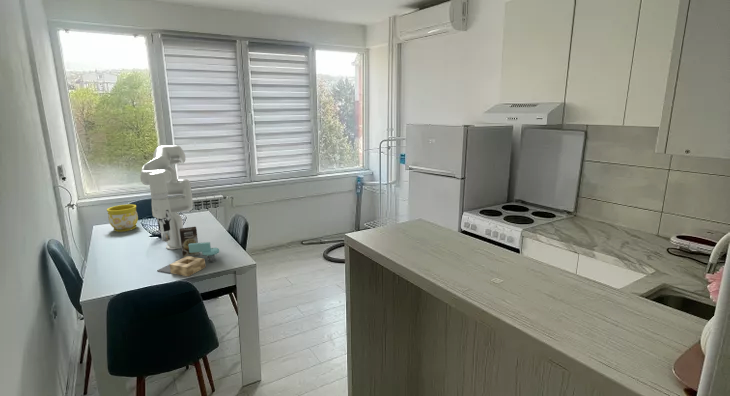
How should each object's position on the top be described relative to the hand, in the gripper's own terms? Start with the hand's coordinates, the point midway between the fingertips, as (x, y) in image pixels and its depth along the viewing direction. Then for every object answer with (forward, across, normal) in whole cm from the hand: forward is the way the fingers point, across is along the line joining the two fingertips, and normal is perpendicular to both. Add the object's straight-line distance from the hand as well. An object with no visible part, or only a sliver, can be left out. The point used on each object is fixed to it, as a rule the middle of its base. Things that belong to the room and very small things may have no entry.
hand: (164, 229), depth 196 cm
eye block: (+22, +10, +4) cm, 25 cm away
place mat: (+22, 0, 0) cm, 22 cm away
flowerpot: (+22, -97, +24) cm, 102 cm away
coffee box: (+23, -10, +18) cm, 31 cm away
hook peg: (+6, 0, 0) cm, 6 cm away
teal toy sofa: (+22, +7, +16) cm, 29 cm away
